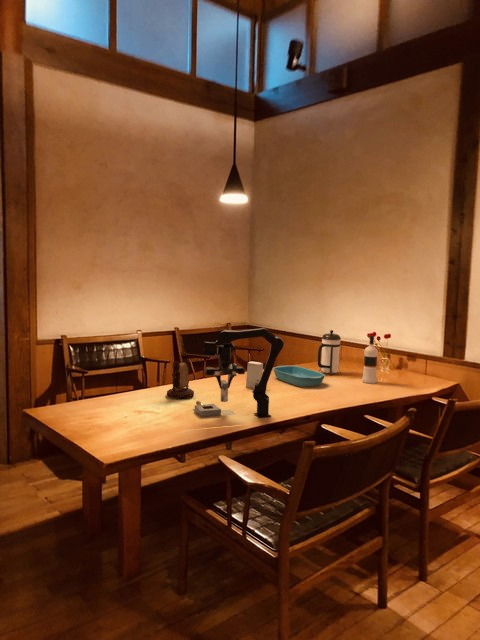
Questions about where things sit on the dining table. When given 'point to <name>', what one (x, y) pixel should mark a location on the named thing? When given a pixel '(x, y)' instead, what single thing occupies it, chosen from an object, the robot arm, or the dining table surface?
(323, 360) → the coffee press
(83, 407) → the dining table surface
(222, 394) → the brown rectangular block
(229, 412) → the mat
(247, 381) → the skincare box
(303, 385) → the casserole dish
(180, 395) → the brown pedestal sculpture
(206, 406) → the block
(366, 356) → the vodka
